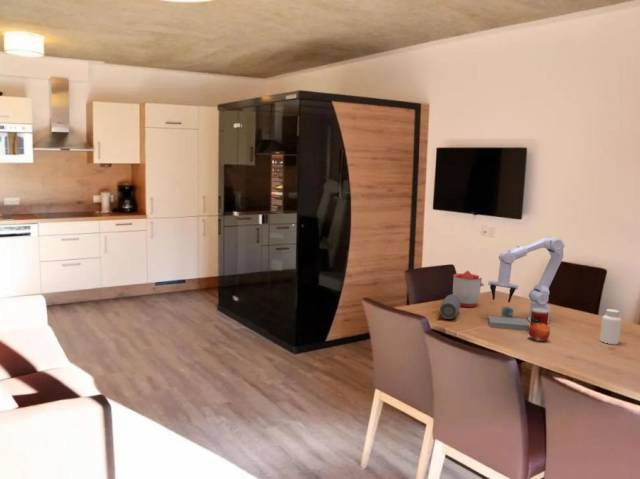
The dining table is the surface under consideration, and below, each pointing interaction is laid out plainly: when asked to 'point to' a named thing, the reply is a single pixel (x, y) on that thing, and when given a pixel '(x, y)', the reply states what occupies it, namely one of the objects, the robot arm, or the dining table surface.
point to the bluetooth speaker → (450, 306)
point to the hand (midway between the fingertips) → (501, 300)
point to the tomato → (539, 331)
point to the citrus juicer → (467, 288)
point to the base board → (508, 323)
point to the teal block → (507, 312)
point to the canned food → (539, 316)
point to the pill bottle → (610, 327)
